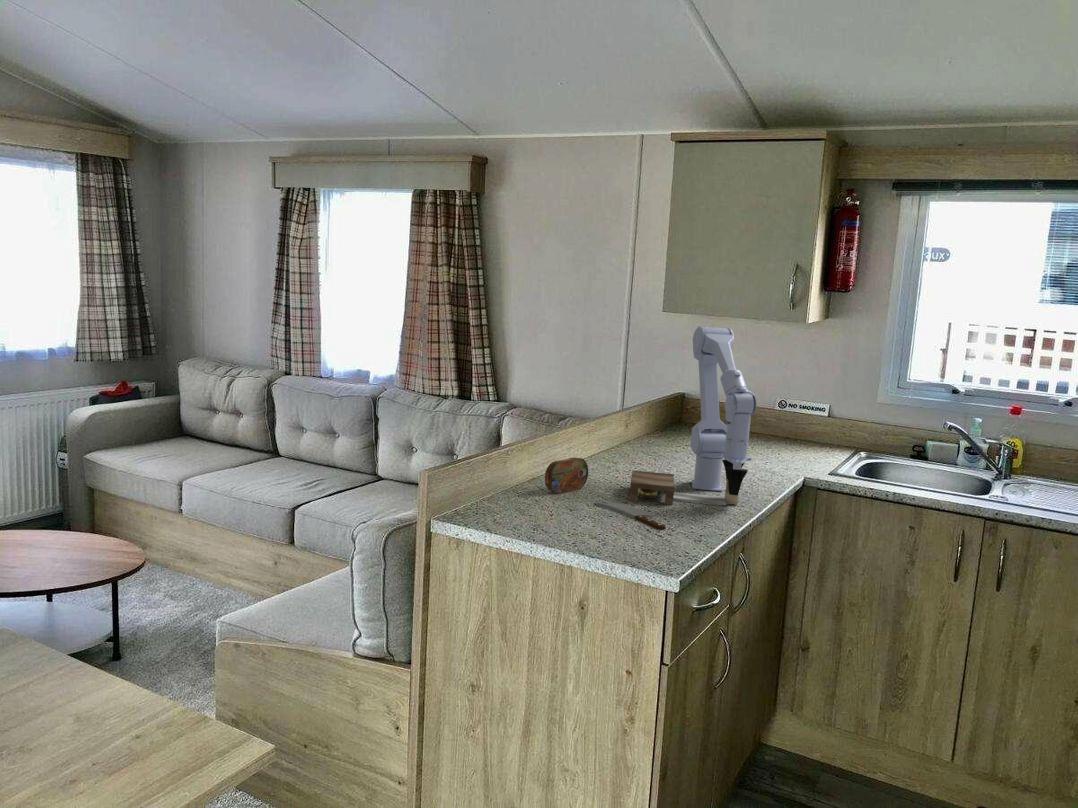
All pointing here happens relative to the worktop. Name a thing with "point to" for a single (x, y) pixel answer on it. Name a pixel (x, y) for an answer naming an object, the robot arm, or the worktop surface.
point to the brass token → (647, 493)
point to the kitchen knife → (632, 513)
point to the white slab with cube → (707, 498)
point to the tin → (566, 475)
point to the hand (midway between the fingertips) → (732, 491)
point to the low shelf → (652, 484)
